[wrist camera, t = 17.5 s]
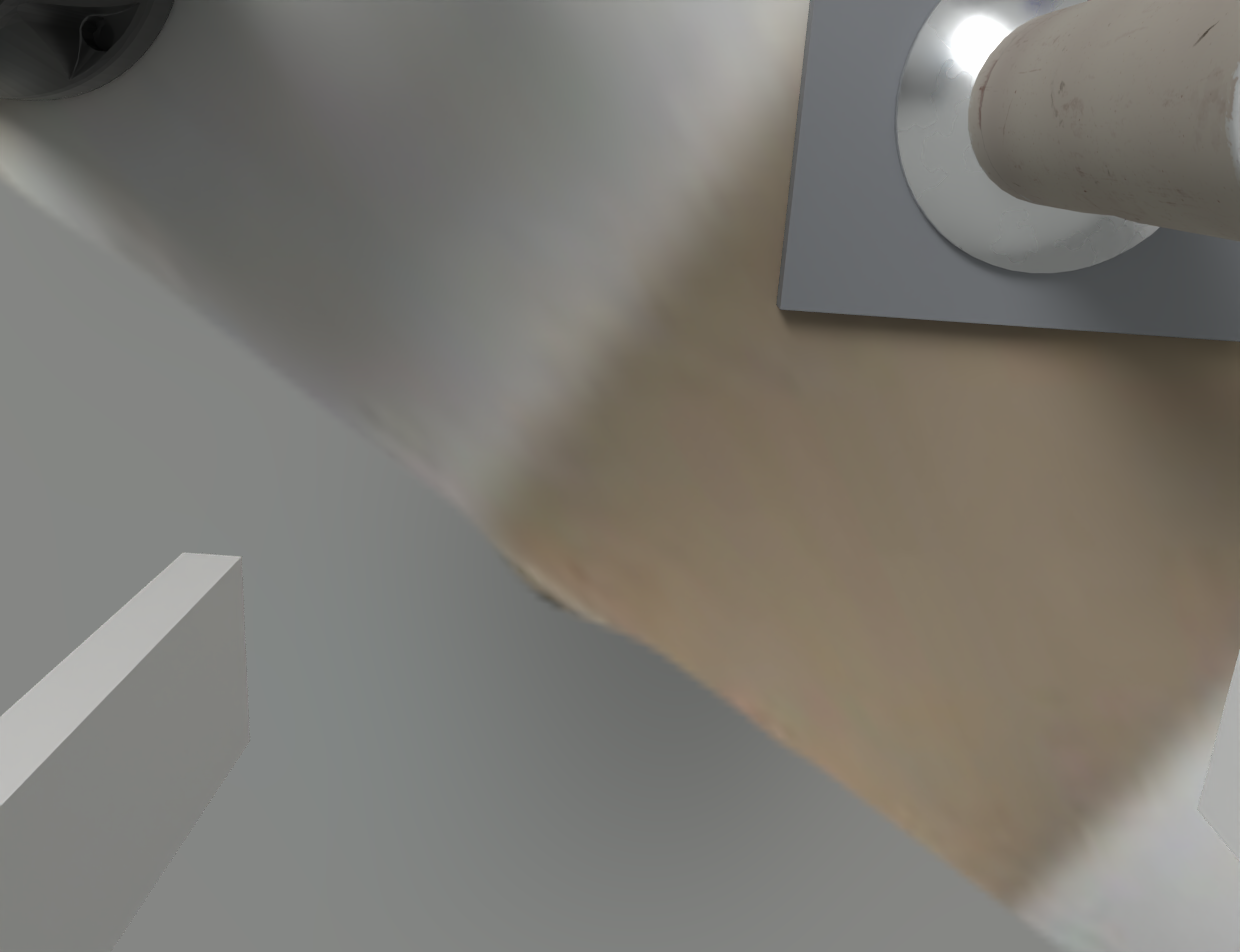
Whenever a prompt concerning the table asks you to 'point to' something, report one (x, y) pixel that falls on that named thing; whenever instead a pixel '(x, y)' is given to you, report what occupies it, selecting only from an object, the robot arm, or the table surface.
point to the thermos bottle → (1118, 112)
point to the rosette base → (961, 195)
